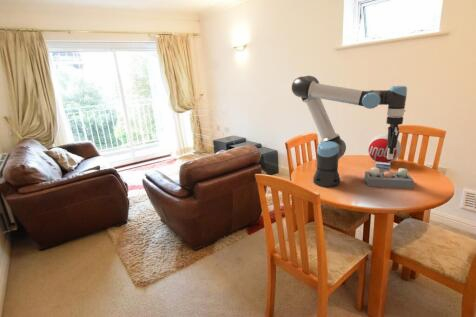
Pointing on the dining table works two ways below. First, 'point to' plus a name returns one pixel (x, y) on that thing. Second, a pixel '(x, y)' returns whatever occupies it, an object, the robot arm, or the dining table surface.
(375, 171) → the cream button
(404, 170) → the pale green egg
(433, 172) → the dining table surface
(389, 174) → the peach egg
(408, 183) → the grey slotted tray
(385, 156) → the red logo ball
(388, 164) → the medicine box
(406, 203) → the dining table surface
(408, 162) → the dining table surface
